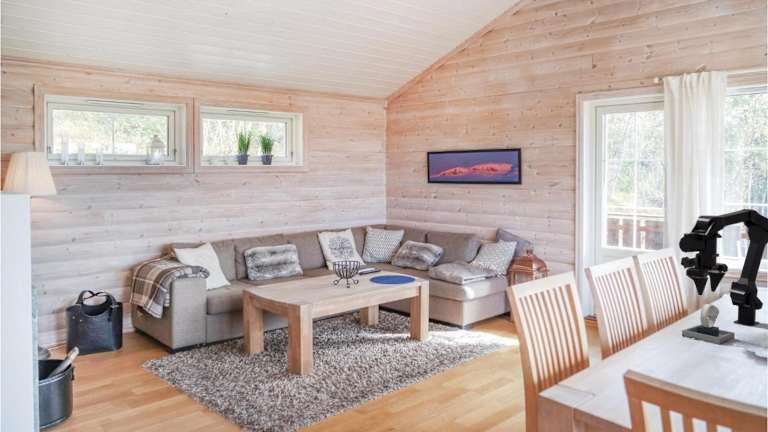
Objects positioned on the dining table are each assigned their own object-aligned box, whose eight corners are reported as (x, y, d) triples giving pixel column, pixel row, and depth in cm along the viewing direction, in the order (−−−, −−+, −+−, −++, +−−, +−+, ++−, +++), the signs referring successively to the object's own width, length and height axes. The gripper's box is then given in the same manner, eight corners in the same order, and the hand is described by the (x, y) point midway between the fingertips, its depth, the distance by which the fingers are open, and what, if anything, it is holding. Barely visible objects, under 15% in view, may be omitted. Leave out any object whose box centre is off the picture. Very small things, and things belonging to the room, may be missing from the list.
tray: (697, 330, 216) (697, 325, 216) (734, 338, 206) (734, 332, 206) (681, 336, 210) (682, 330, 210) (719, 344, 200) (719, 338, 200)
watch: (720, 335, 209) (721, 303, 208) (711, 339, 203) (712, 307, 202) (703, 331, 213) (704, 301, 212) (694, 336, 208) (695, 305, 207)
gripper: (698, 246, 229) (697, 286, 230) (672, 251, 218) (671, 293, 219) (729, 249, 219) (728, 291, 221) (703, 254, 209) (702, 298, 210)
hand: (706, 293), depth 218 cm, fingers open, 9 cm apart
